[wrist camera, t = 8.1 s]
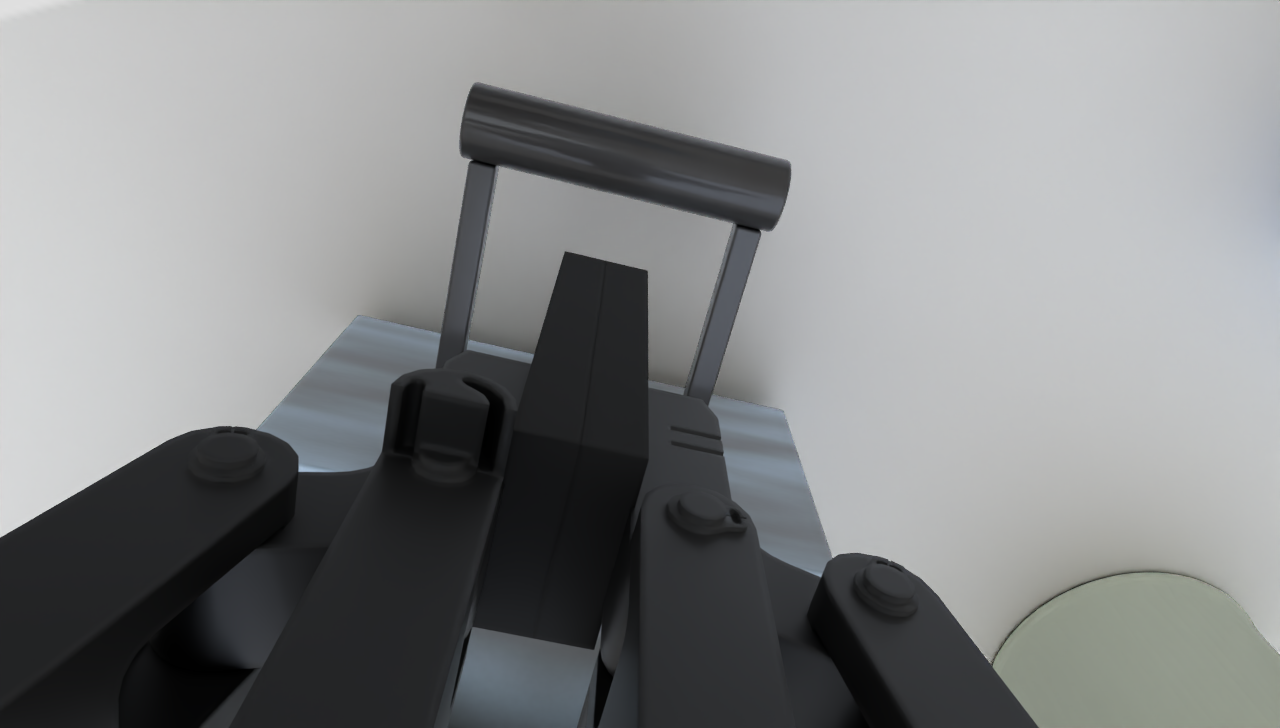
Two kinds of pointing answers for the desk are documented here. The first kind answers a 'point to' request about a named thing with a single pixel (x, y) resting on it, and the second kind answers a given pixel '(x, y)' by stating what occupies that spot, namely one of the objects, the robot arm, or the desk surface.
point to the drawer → (383, 351)
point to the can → (1142, 658)
